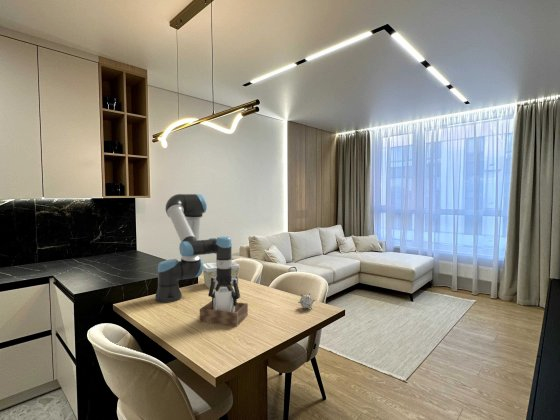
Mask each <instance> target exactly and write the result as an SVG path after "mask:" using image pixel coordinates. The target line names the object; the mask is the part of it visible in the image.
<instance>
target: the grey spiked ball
mask: <svg viewBox="0 0 560 420" xmlns="http://www.w3.org/2000/svg"><path fill="white" fill-rule="evenodd" d="M300 296H301V298H300V299H299V301H298V302H297V304H300V306H301V307H302V310H303V311H304V310H305V309H311V310H312V309H313V308H312V306H313V304H314V302H316V300H314V299H313V298H312V296H311V294H310V293H308V294H300Z"/></svg>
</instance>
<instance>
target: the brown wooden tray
mask: <svg viewBox="0 0 560 420" xmlns="http://www.w3.org/2000/svg"><path fill="white" fill-rule="evenodd" d="M248 305H249V304H248V302H237V305H236V306H235V312H232V307H231V312H230V311H220V310H213V304H212V300H211V301H209V302H208V303H207V304H205V305H204V306H202V307H201V308H200V309H199V323H203V324H205V323H206V324H212V325H221V326H222V325H223V326H231V327H238V326H240V324H241V323H242V322H243V321H244V320H245V319H246V318H247V317H248V315H249V313H248V312H249V311H248V310H249V309H248V308H249V307H248Z"/></svg>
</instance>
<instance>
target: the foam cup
mask: <svg viewBox="0 0 560 420" xmlns="http://www.w3.org/2000/svg"><path fill="white" fill-rule="evenodd" d="M214 290H215V289H214ZM215 297H216V304H217V310H220V311H230V312H231V307H232V299H233V298H232V296H231V291H229V290H228V288H227V287H226V286H222V287H220V288H219V290H218V292H217V291H216V290H215Z"/></svg>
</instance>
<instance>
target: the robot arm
mask: <svg viewBox="0 0 560 420" xmlns="http://www.w3.org/2000/svg"><path fill="white" fill-rule="evenodd" d="M166 201H167V202H166V204H165V208H164V209H165V212H166V213H165V214H166V215H167V217H168V218H170V220H171V222H172V224H173V227H174V229H175V231H176V234H177V235H178V238H179V240H180V242H179V248H178V251H179V254H180V256H181V257H180V260H178V259H176V258H174V259H166V260H164V261H163V260H162V261H160V262H159V263H158V265H157V289H156V293H155V296H154V300H155V301H156V302H158V303H173V302H175V301H178V300H179V301H180V299H182V292H181V290H180V286H179V281H180V280H188V279H196V278H198V277H200V276H201V275H202V273H203V264H204V262H203V259H201V257H200V255H210V254H211V255H212V254H216V258H215V259H216V262H215V263H217V269H216V270H217V277H212V278H211V285H210V288H209V290H208V293H207V294H208V297H210V298H211V301H212V304H213V310H217V304H216V297H215V290H216V291H217V292H218V290H219V288H221V287H220V286H222V287H227V288H228V290H229V291H231V296H232V298H233V299H232V312H235V306H236V305H237V300H239V299H240V298H241V294H240V289H239V285H238V284H239V283H238V284H237V278H236V279H233V278H232V277H231V274H232V270H231V266H232V264H231V261H232V238H231V237H229V236H218V237H215V238H212V237H211V238H208V239H199V238H200V223H201V222H200V220H201V218H203V214H204V213H206V212H207V201H206V198H205V197H204V196H203V194H198V193H192V194H191V193H184V194H183V193H178V194H174V195H172V196H170V197H169V199H168V200H166ZM216 280H217V282H218V284H217V286H216V287H215V288H214V286H215V281H216ZM231 281H232V283H233V285H232V284H231Z"/></svg>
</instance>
